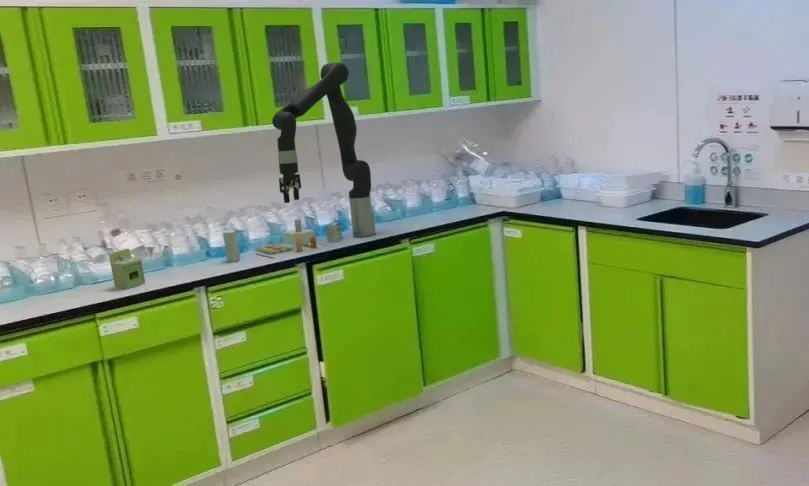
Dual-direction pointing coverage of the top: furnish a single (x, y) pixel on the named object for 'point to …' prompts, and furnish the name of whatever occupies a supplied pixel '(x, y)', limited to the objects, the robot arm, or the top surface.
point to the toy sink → (126, 269)
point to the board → (311, 244)
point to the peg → (298, 242)
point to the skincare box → (231, 246)
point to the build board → (273, 250)
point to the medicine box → (333, 232)
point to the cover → (305, 233)
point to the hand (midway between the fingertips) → (292, 201)
